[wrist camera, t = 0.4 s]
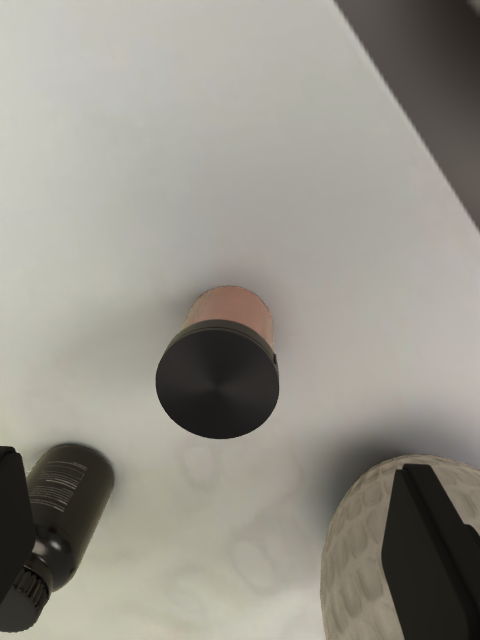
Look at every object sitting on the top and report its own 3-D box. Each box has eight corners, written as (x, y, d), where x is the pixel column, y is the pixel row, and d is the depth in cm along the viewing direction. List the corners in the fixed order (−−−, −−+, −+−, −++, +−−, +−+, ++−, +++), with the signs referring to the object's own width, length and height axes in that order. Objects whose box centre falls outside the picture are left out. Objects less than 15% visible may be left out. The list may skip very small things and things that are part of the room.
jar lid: (253, 300, 23) (252, 311, 22) (296, 402, 26) (298, 418, 24) (142, 342, 25) (133, 355, 23) (191, 435, 27) (187, 453, 25)
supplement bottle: (24, 471, 38) (-76, 602, 27) (70, 427, 36) (-18, 550, 25) (85, 515, 39) (13, 658, 28) (132, 476, 37) (75, 613, 26)
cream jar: (253, 272, 30) (249, 314, 22) (285, 349, 32) (291, 412, 24) (173, 304, 31) (142, 353, 24) (208, 376, 33) (190, 443, 26)
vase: (363, 582, 40) (464, 1033, 20) (271, 462, 36) (277, 879, 15) (535, 516, 36) (889, 993, 16) (455, 372, 32) (799, 770, 11)
